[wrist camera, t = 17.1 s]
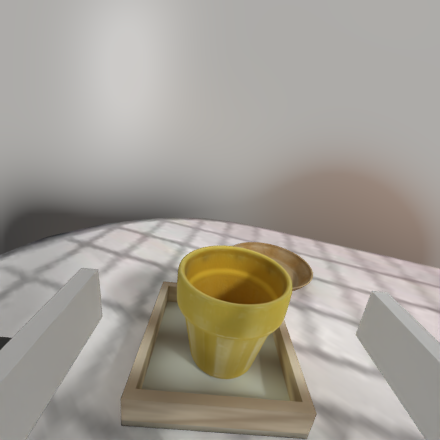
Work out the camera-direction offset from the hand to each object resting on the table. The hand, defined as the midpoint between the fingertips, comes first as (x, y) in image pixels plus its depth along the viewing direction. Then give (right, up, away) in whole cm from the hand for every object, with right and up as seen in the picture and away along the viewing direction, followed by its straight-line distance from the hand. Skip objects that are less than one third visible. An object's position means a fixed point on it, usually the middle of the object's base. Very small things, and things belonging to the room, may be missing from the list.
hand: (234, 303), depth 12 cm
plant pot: (0, -10, +14) cm, 17 cm away
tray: (-1, -10, +14) cm, 17 cm away
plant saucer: (+7, -6, +31) cm, 32 cm away
